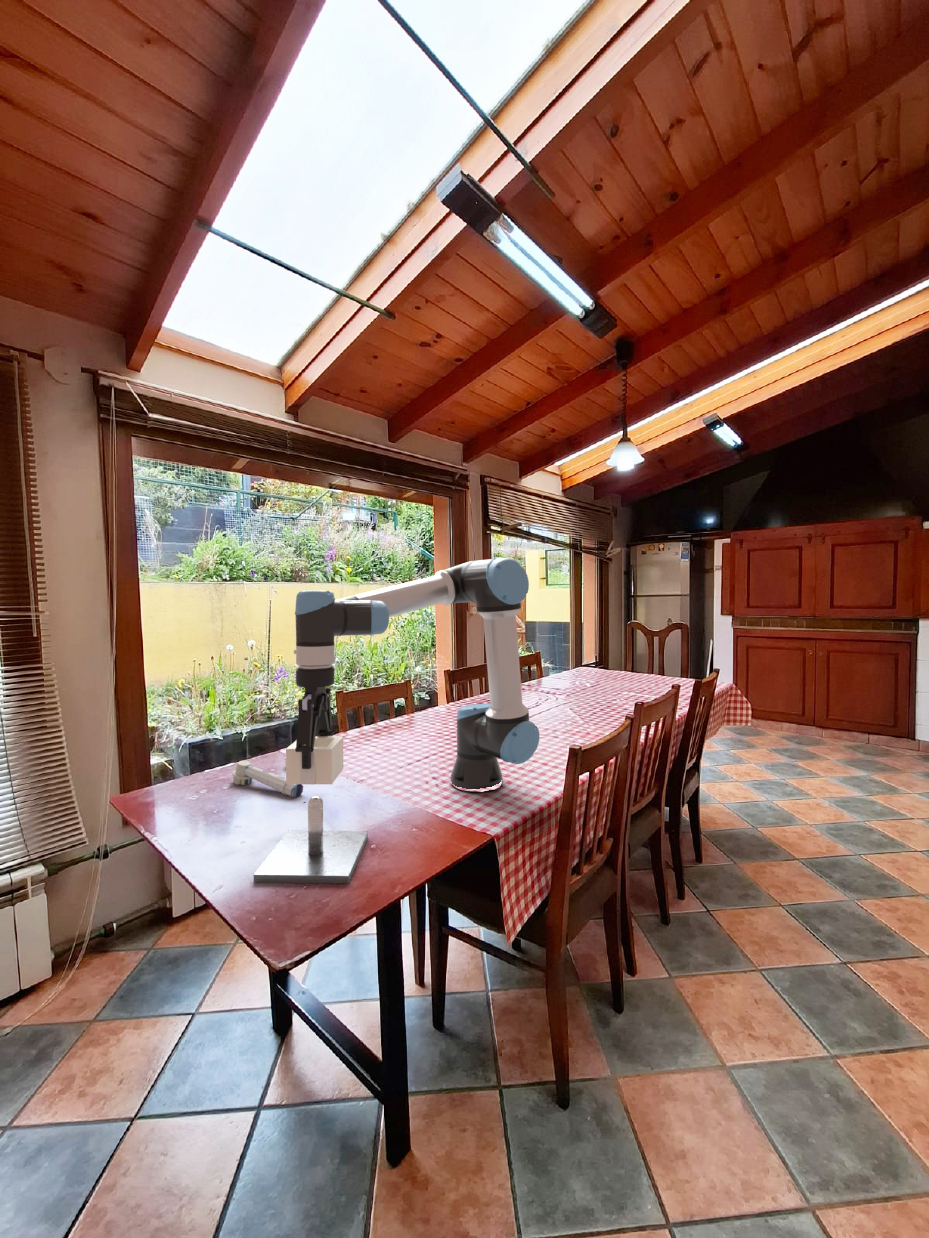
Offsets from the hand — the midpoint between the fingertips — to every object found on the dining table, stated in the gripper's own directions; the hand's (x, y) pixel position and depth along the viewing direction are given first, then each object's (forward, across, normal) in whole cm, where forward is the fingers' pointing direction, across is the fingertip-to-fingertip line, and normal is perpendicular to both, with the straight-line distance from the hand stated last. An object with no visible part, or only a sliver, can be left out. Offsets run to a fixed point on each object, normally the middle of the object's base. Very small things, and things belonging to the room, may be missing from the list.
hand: (315, 774), depth 102 cm
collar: (0, 0, 0) cm, 0 cm away
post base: (+18, 0, 0) cm, 18 cm away
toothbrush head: (+18, -37, -26) cm, 49 cm away
